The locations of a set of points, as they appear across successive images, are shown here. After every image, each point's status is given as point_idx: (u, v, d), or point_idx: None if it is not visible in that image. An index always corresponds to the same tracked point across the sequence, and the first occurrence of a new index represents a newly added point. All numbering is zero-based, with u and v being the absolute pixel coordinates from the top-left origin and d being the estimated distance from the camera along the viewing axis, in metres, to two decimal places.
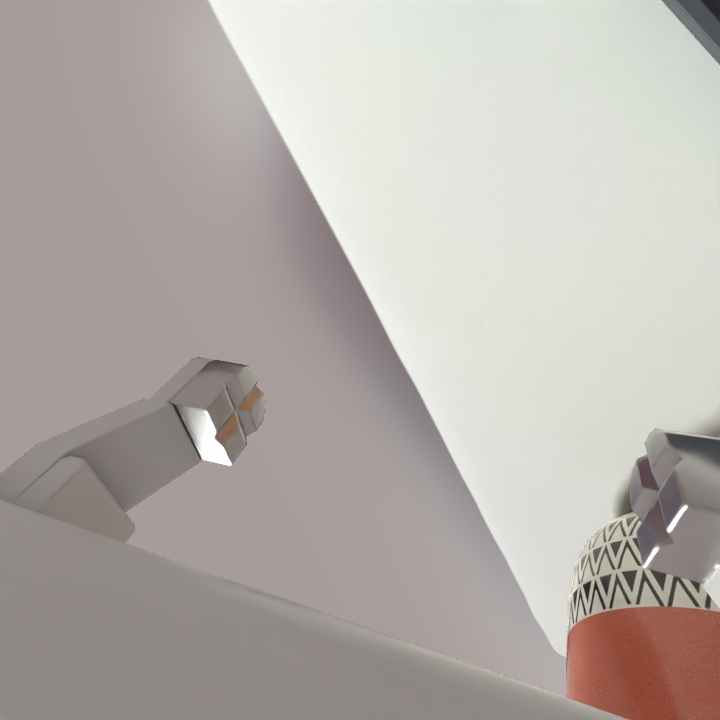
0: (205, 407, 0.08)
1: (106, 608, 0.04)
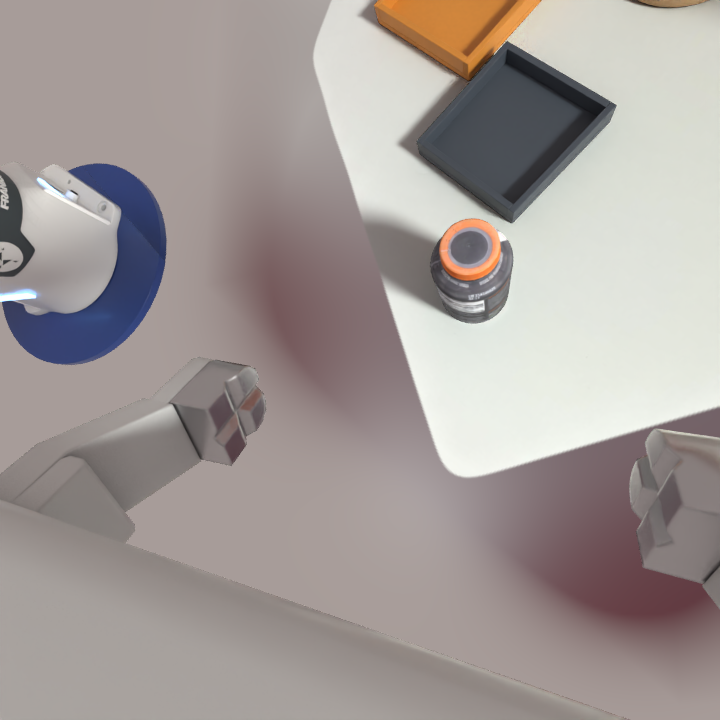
0: (206, 407, 0.08)
1: (108, 607, 0.04)
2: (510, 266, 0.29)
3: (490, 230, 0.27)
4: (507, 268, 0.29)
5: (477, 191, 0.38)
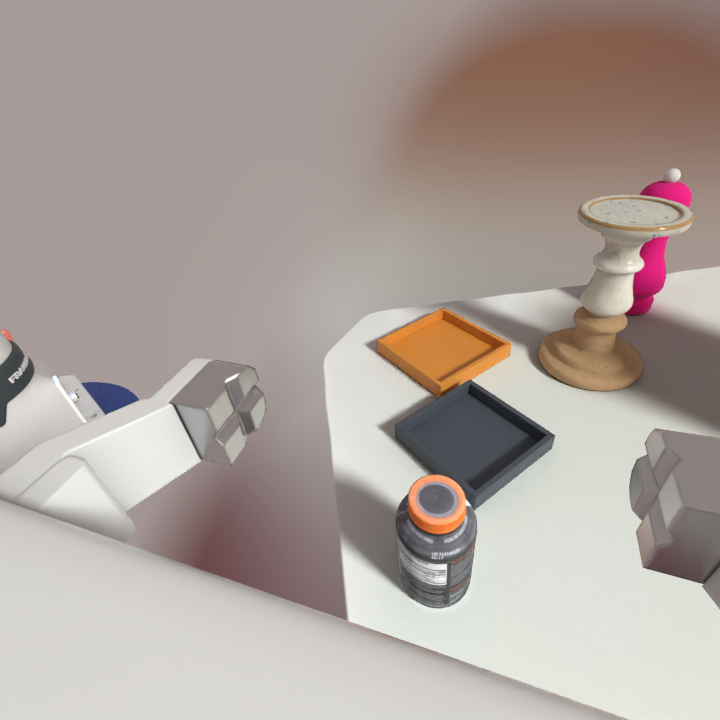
0: (205, 407, 0.08)
1: (107, 608, 0.04)
2: (474, 531, 0.29)
3: (457, 488, 0.29)
4: (472, 533, 0.29)
5: (443, 474, 0.42)
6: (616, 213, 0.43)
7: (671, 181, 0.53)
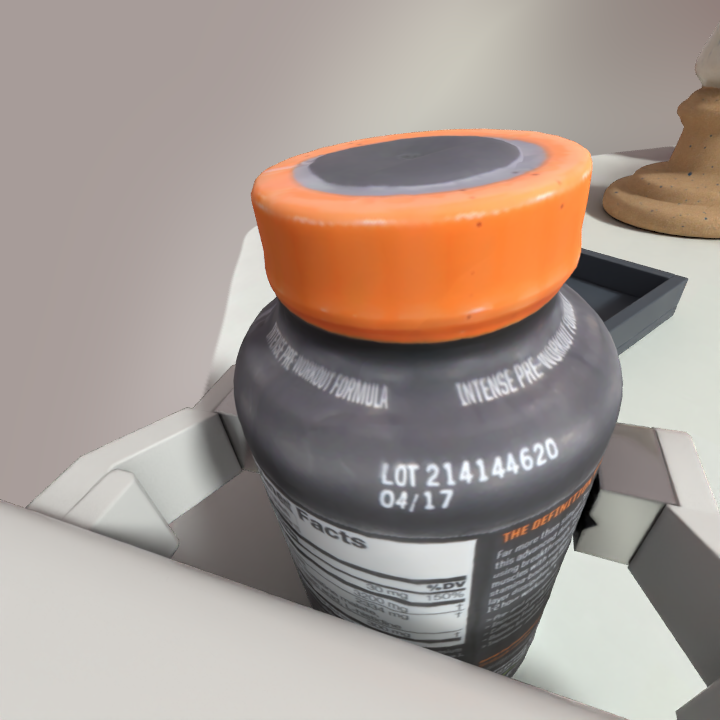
0: None
1: (108, 608, 0.04)
2: (619, 369, 0.05)
3: (522, 134, 0.05)
4: (612, 368, 0.05)
5: None
6: None
7: None
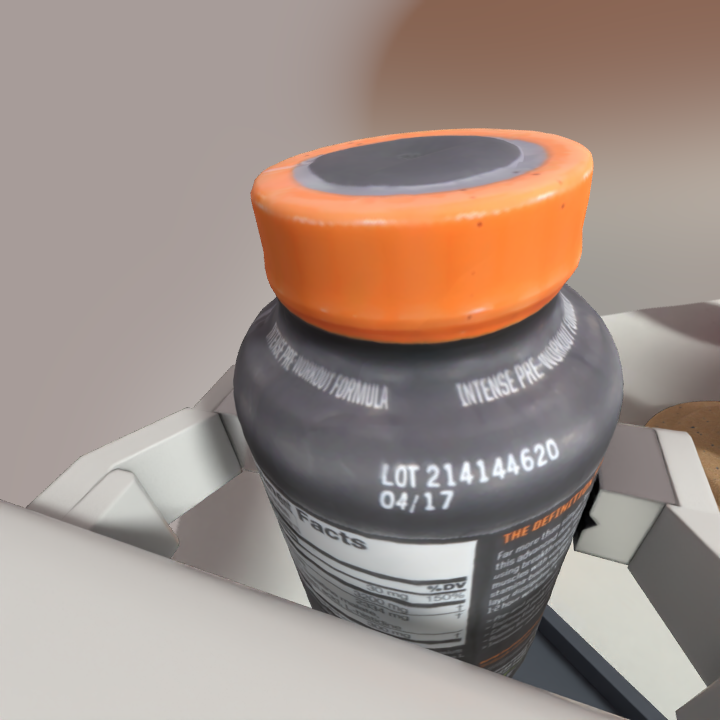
0: None
1: (107, 608, 0.04)
2: (620, 370, 0.05)
3: (523, 134, 0.05)
4: (613, 368, 0.05)
5: None
6: None
7: None
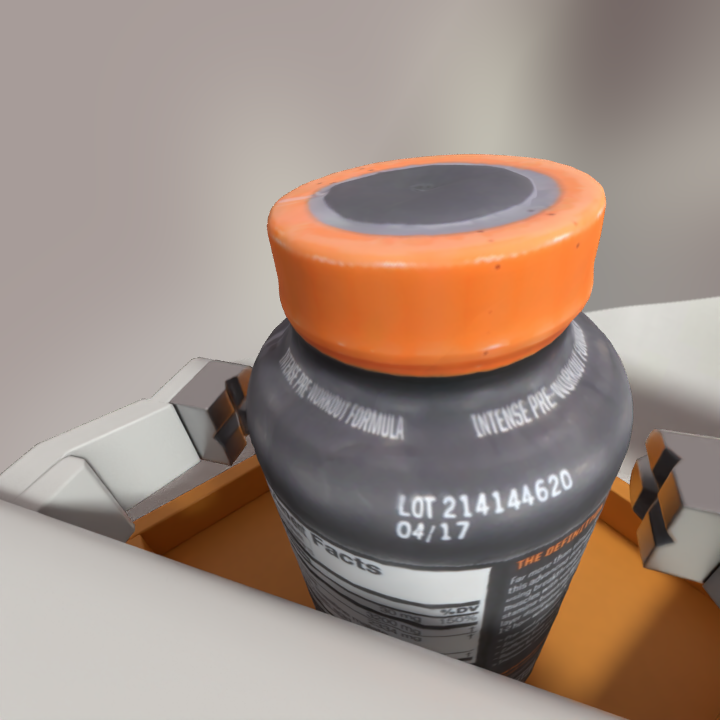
0: (206, 407, 0.08)
1: (107, 608, 0.04)
2: (630, 395, 0.05)
3: (534, 163, 0.05)
4: (623, 396, 0.05)
5: None
6: None
7: None
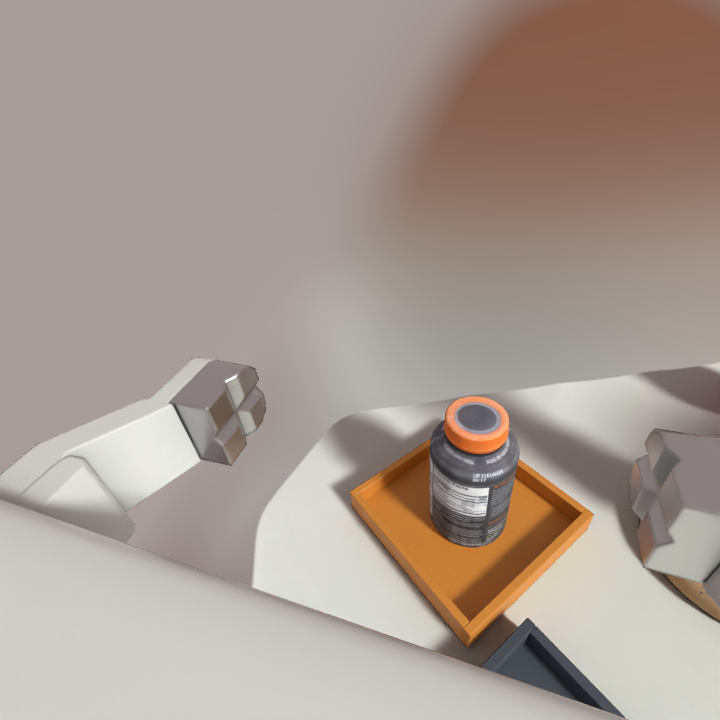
0: (206, 407, 0.08)
1: (107, 607, 0.04)
2: (517, 454, 0.27)
3: (498, 406, 0.27)
4: (515, 454, 0.27)
5: None
6: None
7: None
